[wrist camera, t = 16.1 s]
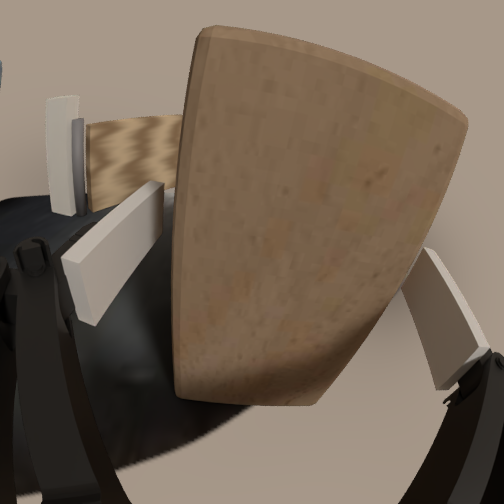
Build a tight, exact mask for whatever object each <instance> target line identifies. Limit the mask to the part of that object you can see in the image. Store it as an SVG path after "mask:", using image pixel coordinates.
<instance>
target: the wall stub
mask: <svg viewBox="0 0 504 504" xmlns="http://www.w3.org/2000/svg"><path fill="white" fill-rule="evenodd" d="M78 110H79V95H73V96H61V97H55V98H50V99H46V155H47V171H48V182H49V191H50V199H51V206H52V212H55V213H59V214H64V215H68V216H73V215H74V214H75V213H76V215H77V216H84V215H86V214H87V208H86V196H85V181H84V153H83V152H84V149H83V142H84V119H83V118H78Z"/></svg>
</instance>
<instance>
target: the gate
mask: <svg viewBox="0 0 504 504" xmlns="http://www.w3.org/2000/svg"><path fill="white" fill-rule="evenodd" d="M182 118H183V115H163V116H149V117H138V118H130V119H121V120H113V121H106V122H99V123H93V124H87V125H86V177H87V194H88V207H89V209H90V210H91V211H92V212H96V211H99V210H102V209H105V208H108V207H111V206H114V205H117V204H120V203H122V202H123V201H124V200H126V199H127V198H128V197H129V196H131V195H132V194H133V193H134V192H136V191H137V190H138V189H140V188H141V187H142V186H143V185H145V184H146V183H147V182H149V181H150V180H151V181H157V182H163V183H165V186H164V190H166V189H169V188H173V187H175V183H176V171H177V161H178V151H179V142H180V133H181V125H182Z"/></svg>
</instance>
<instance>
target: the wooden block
mask: <svg viewBox="0 0 504 504" xmlns="http://www.w3.org/2000/svg"><path fill="white" fill-rule="evenodd" d="M467 130H468V119H467V117H466V116H465V115H464V114H463V113H462V112H461V110H459V109H458V108H456V107H455V106H453V105H452V104H450V103H448V102H447V101H445V100H443V99H442V98H440V97H438V96H437V95H435V94H433V93H431V92H430V91H428V90H426V89H424V88H422V87H420V86H418V85H417V84H415V83H413V82H411V81H409V80H407V79H405V78H403V77H401V76H399V75H397V74H394V73H392V72H390V71H388V70H386V69H383V68H381V67H379V66H376V65H374V64H372V63H369V62H366V61H364V60H361V59H359V58H356V57H353V56H351V55H348V54H345V53H342V52H339V51H336V50H333V49H330V48H327V47H324V46H321V45H317V44H314V43H310V42H306V41H303V40H299V39H295V38H291V37H286V36H282V35H277V34H272V33H267V32H262V31H256V30H250V29H243V28H236V27H228V26H219V25H215V26H211V27H206V28H203V29H202V31H201V32H200V33H199V35H198V36H197V38H196V41H195V46H194V51H193V56H192V61H191V67H190V72H189V78H188V84H187V91H186V97H185V103H184V110H183V118H182V125H181V133H180V142H179V151H178V161H177V171H176V183H175V196H174V211H173V230H172V257H171V327H172V354H173V373H174V387H175V393H176V396H177V397H179V398H182V399H189V400H197V401H205V402H215V403H226V404H240V405H260V406H310V405H313V404H315V403H316V402H317V401H318V400H319V398H321V396H322V395H323V394H324V393H325V392H326V390H327V389H328V388H329V387H330V386H331V384H332V383H333V382H334V381H335V379H336V378H337V377H338V376H339V374H340V373H341V371H342V370H343V369H344V368H345V367H346V365H347V364H348V362H349V361H350V360H351V359H352V357H353V356H354V355H355V353H356V352H357V350H358V349H359V348H360V346H361V344H362V343H363V342H364V341H365V339H366V338H367V336H368V335H369V333H370V332H371V330H372V329H373V327H374V326H375V324H376V323H377V321H378V320H379V318H380V317H381V315H382V314H383V312H384V311H385V309H386V307H387V306H388V304H389V303H390V301H391V299H392V298H393V296H394V294H395V293H396V291H397V289H398V288H399V286H400V284H401V282H402V281H403V279H404V277H405V275H406V274H407V272H408V270H409V268H410V266H411V265H412V263H413V261H414V259H415V257H416V255H417V253H418V251H419V249H420V247H421V245H422V243H423V241H424V239H425V237H426V235H427V233H428V231H429V229H430V227H431V225H432V223H433V220H434V218H435V216H436V214H437V212H438V209H439V207H440V205H441V202H442V200H443V198H444V195H445V193H446V190H447V188H448V185H449V182H450V180H451V177H452V175H453V172H454V169H455V166H456V164H457V160H458V158H459V155H460V152H461V149H462V146H463V143H464V139H465V136H466V133H467Z"/></svg>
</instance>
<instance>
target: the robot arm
mask: <svg viewBox="0 0 504 504" xmlns="http://www.w3.org/2000/svg"><path fill="white" fill-rule="evenodd" d="M1 77H2V62H1V61H0V85H1ZM164 186H165V183H163V182H157V181H151V180H150V181H149V182H147V183H146V184H145V185H143V186H142V187H141V188H140V189H138V190H137V191H136V192H134V193H133V194H132V195H131V196H129V197H128V198H127V199H126V200H124V201H123V202H122V203H121V204H119V205H118V206H117V207H116V208H115V209H113V210H112V211H111V212H110V213H109V214H108V215H106V216H105V217H104V218H103V219H102V220H101V221H99V222H98V223H97V222H92V223H90V224H88V225H86V226H84V227H82V228H81V229H80V230H79V231H78V232H76V233H75V235H73V236H72V237H71V238H70V239H69V241H66V242H65V243H64V244H63V245H62V246H61V247H60V248H59V249H58V250H57V251H56V252H55V253H54V254H52V255H51V252H50V248H49V244H48V240H46V239H45V238H43V237H31V238H28V239H25V240H24V241H22V242H20V243H19V244H18V245H17V246H16V247H15V249H14V251H13V254H14V257H15V260H16V264H17V267H18V269H12V268H9V266H8V263H7V260H6V258H5V257H3V256H0V504H17V499H16V491H15V482H14V470H13V445H12V437H13V411H14V398H15V389H16V381H18V391H19V399H20V407H21V413H22V419H23V425H24V430H25V435H26V440H27V444H28V448H29V453H30V456H31V460H32V464H33V467H34V471H35V474H36V477H37V480H38V483H39V486H40V489H41V493H42V502H41V504H132V503H131V502H130V501H129V499H128V497H127V495H126V493H125V491H124V490H123V488H122V486H121V483H120V481H119V479H118V477H117V475H116V473H115V470H114V468H113V466H112V464H111V461H110V459H109V457H108V454H107V452H106V449H105V447H104V444H103V441H102V439H101V436H100V433H99V430H98V428H97V425H96V422H95V419H94V416H93V412H92V409H91V406H90V403H89V399H88V396H87V392H86V388H85V385H84V381H83V377H82V372H81V368H80V364H79V359H78V354H77V349H76V344H75V339H74V333H73V327H72V321H71V318H70V314H71V313H72V312H73V310H74V309H75V310H76V313H77V316H78V319H79V320H81V321H83V322H86V323H88V324H91V325H93V326H96V325H97V323H98V322H99V320H100V319H101V317H102V316H103V314H104V313H105V311H106V310H107V308H108V307H109V305H110V304H111V302H112V301H113V299H114V298H115V297H116V295H117V294H118V292H119V291H120V289H121V288H122V287H123V285H124V284H125V282H126V281H127V280H128V278H129V277H130V275H131V274H132V273H133V271H134V270H135V269H136V267H137V266H138V264H139V263H140V262H141V260H142V259H143V258H144V256H145V255H146V254H147V252H148V251H149V250H150V248H151V247H152V246H153V245H154V243H155V242H156V241H157V239H158V238H159V237H160V236H161V234H162V232H163V204H164ZM401 290H402V292H403V294H404V297H405V299H406V302H407V304H408V307H409V309H410V312H411V315H412V317H413V320H414V323H415V325H416V328H417V331H418V334H419V336H420V339H421V342H422V345H423V348H424V351H425V354H426V357H427V361H428V364H429V367H430V370H431V374H432V377H433V381H434V384H435V388H436V390H449V389H450V388H451V387H452V386H453V385H454V384H455V383H456V382H457V381H458V384H459V388H458V389H456V390H455V391H454V392H453V393H452V394H451V395H450V396H449V397H447V398H446V399H445V400H444V402H443V404H445V403H446V402H447V401H449V400H450V401H451V402H450V403H449V404H448V405H447V407H448V410H447V412H446V415H445V417H444V420H443V422H442V425H441V427H440V429H439V431H438V433H437V436H436V438H435V440H434V442H433V444H432V446H431V448H430V451H429V453H428V454H427V456H426V458H425V460H424V462H423V464H422V466H421V468H420V469H419V471H418V473H417V474H416V476H415V478H414V480H413V481H412V483H411V485H410V486H409V488H408V490H407V491H406V493H405V494H404V496H403V497H402V499H401V501H400V502H399V503H398V504H504V357H503V356H502V355H501V354H500V353H497V352H494V353H492V351H491V349H490V346H489V344H488V342H487V340H486V338H485V336H484V334H483V332H482V330H481V328H480V326H479V324H478V322H477V320H476V318H475V316H474V314H473V313H472V311H471V309H470V307H469V305H468V304H467V302H466V300H465V298H464V297H463V295H462V293H461V291H460V290H459V288H458V286H457V285H456V283H455V282H454V280H453V278H452V277H451V275H450V274H449V272H448V271H447V269H446V268H445V266H444V264H443V263H442V261H441V260H440V258H439V257H438V255H437V254H436V252H435V251H434V250H431V249H428V248H425V247H423V249H422V251H421V253H420V255H419V257H418V259H417V261H416V263H415V264H414V266H413V268H412V270H411V272H410V274H409V275H408V277H407V279H406V280H405V282H404V284H403V285H402V287H401Z"/></svg>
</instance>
